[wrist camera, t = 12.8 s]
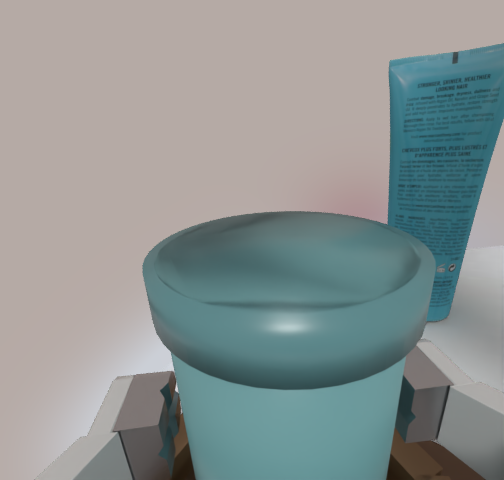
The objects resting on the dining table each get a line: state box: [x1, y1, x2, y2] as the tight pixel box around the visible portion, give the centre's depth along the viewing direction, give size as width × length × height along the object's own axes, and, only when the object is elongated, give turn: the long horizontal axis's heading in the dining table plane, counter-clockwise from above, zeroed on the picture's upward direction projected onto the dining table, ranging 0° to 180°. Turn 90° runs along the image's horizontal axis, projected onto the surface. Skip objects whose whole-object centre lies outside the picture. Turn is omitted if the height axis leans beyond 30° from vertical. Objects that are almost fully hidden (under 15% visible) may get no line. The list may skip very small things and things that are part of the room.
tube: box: [388, 43, 504, 321], centre depth 21 cm, size 7×5×19 cm, turn 69°
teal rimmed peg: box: [143, 211, 436, 480], centre depth 7 cm, size 5×5×11 cm
